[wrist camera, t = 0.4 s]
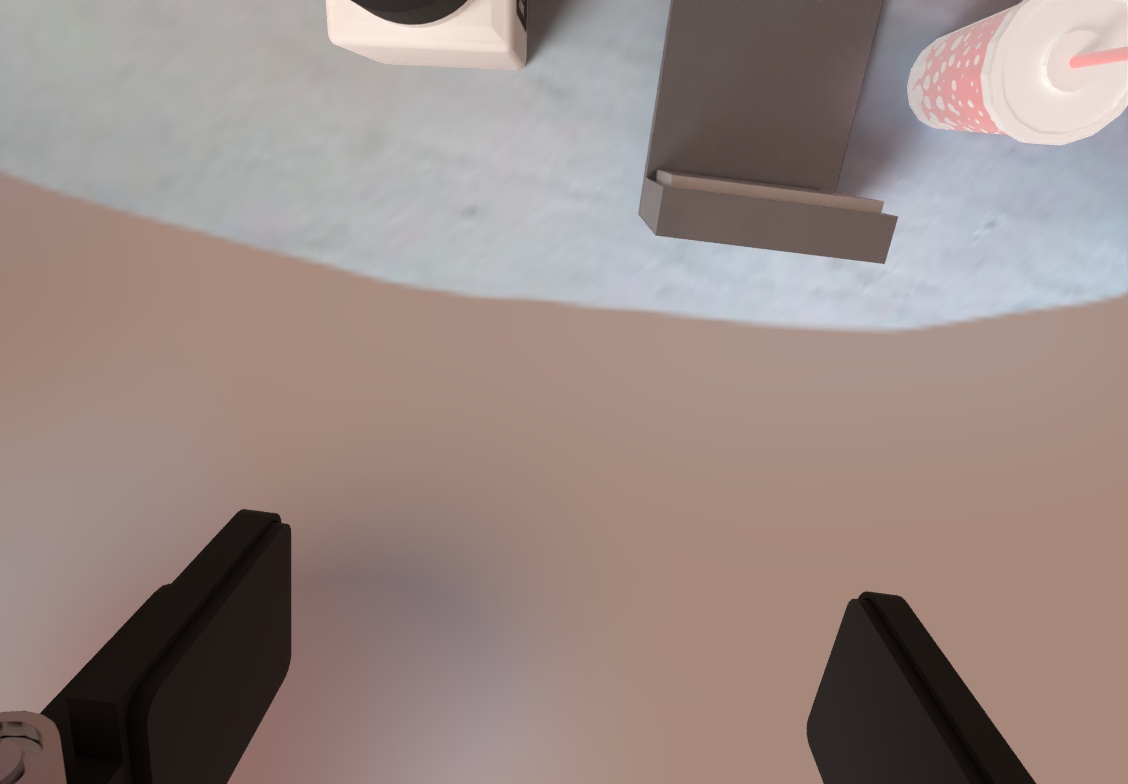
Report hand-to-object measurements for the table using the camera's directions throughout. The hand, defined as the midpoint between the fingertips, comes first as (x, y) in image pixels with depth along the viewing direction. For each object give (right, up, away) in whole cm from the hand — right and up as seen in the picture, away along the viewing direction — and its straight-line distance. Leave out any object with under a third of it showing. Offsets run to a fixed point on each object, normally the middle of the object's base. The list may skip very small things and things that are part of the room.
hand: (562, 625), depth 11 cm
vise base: (+10, +22, +23) cm, 33 cm away
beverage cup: (+20, +20, +24) cm, 37 cm away
